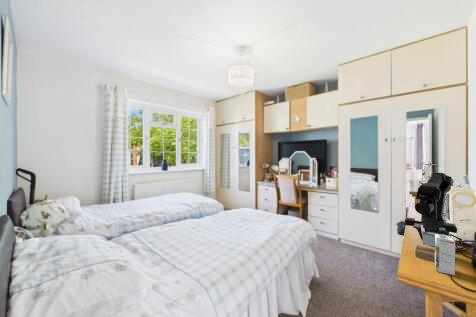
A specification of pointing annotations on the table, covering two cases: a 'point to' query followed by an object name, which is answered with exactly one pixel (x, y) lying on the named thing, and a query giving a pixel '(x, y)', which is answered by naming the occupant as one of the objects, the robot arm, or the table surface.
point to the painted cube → (429, 238)
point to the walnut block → (425, 253)
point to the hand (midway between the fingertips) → (429, 241)
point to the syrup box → (445, 254)
